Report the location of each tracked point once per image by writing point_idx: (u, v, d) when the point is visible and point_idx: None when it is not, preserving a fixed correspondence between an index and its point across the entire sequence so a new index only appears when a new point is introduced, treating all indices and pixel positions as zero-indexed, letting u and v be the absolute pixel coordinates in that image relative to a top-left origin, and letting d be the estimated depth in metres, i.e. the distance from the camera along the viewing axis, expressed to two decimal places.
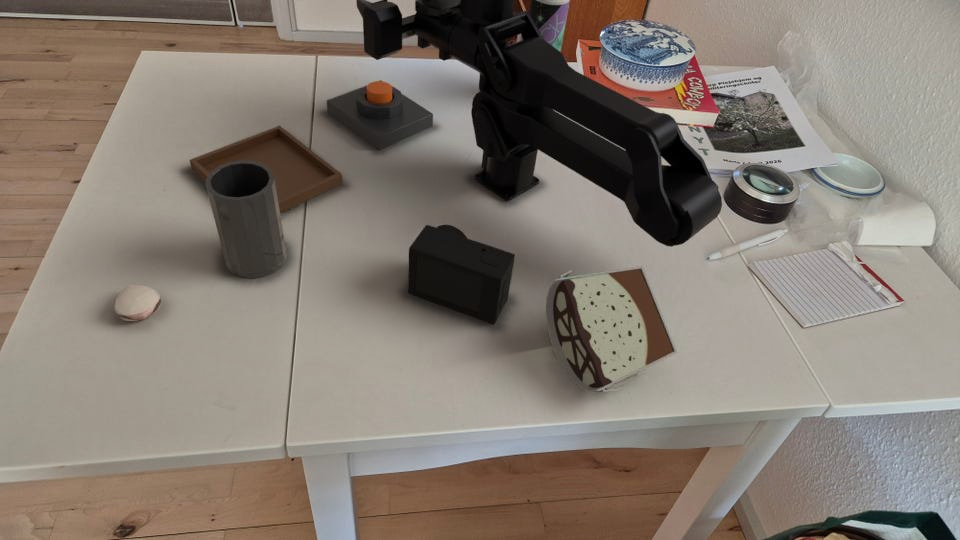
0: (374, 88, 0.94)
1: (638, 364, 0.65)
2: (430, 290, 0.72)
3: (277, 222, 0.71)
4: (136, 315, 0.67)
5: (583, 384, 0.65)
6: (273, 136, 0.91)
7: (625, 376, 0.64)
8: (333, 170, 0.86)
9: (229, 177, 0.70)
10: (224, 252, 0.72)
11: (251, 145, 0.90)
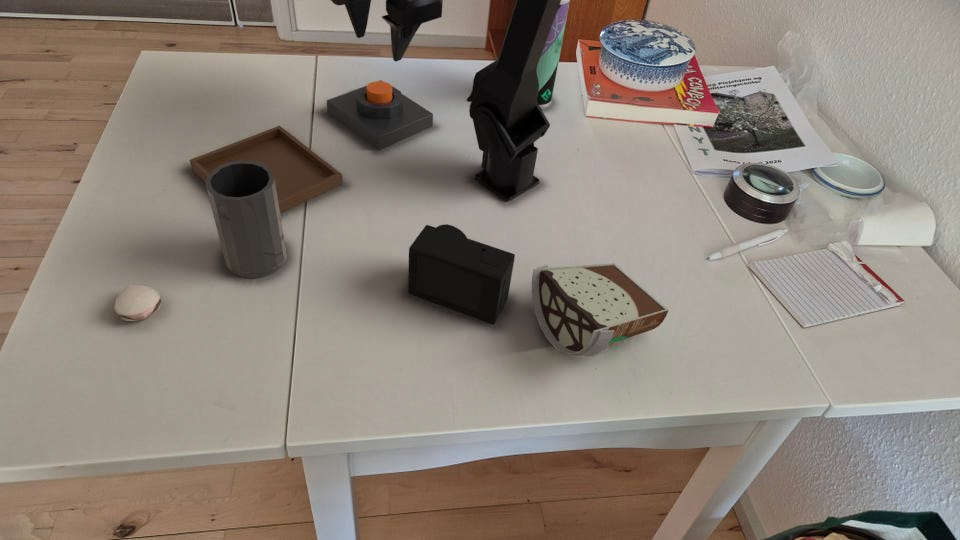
0: (374, 88, 0.94)
1: (631, 317, 0.65)
2: (430, 290, 0.72)
3: (277, 222, 0.71)
4: (136, 315, 0.67)
5: None
6: (273, 136, 0.91)
7: (620, 323, 0.64)
8: (333, 170, 0.86)
9: (229, 177, 0.70)
10: (224, 252, 0.72)
11: (251, 145, 0.90)
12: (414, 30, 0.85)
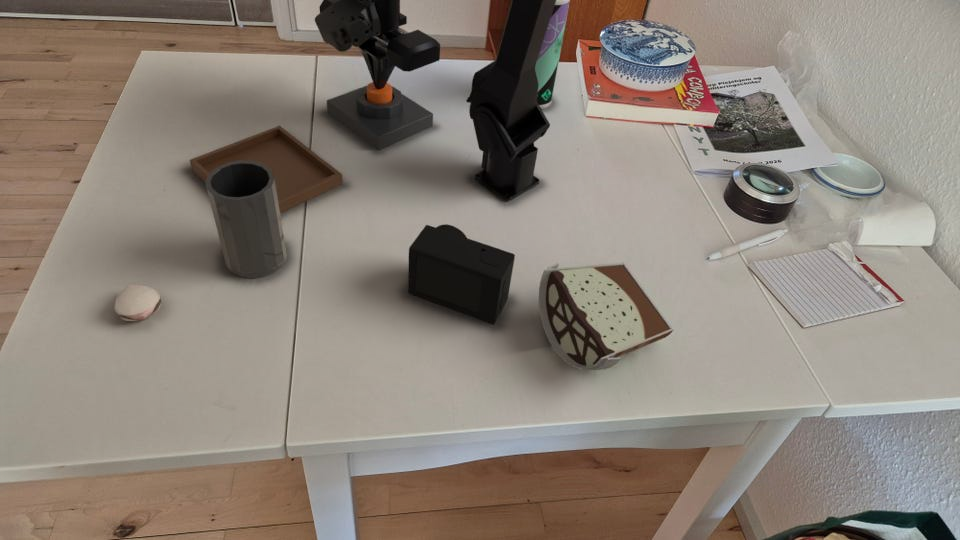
0: (374, 88, 0.94)
1: (637, 338, 0.65)
2: (430, 290, 0.72)
3: (277, 222, 0.71)
4: (136, 315, 0.67)
5: (587, 366, 0.65)
6: (273, 136, 0.91)
7: (627, 347, 0.64)
8: (333, 170, 0.86)
9: (229, 177, 0.70)
10: (224, 252, 0.72)
11: (251, 145, 0.90)
12: None
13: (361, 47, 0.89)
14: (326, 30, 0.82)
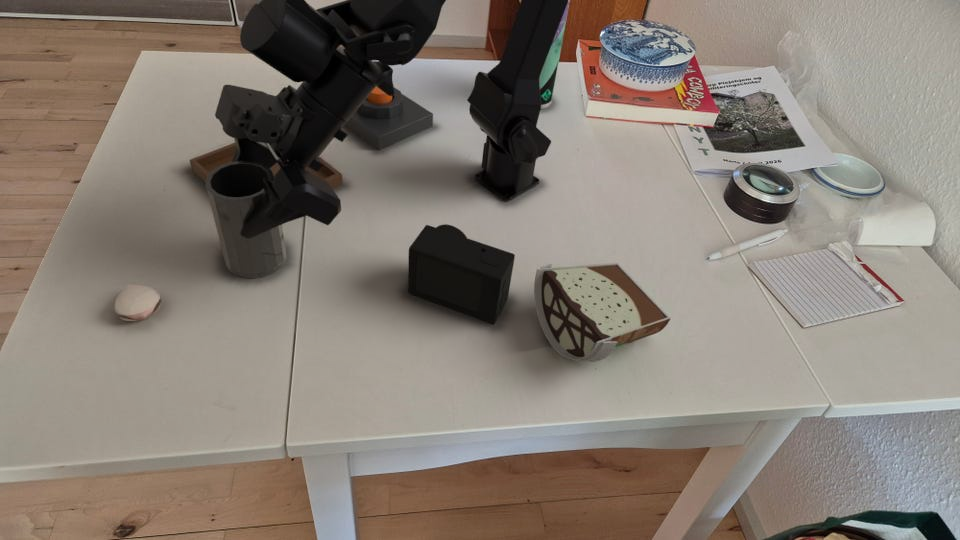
0: (374, 88, 0.94)
1: (634, 325, 0.65)
2: (430, 290, 0.72)
3: None
4: (136, 315, 0.67)
5: (585, 356, 0.64)
6: None
7: (623, 333, 0.64)
8: (333, 170, 0.86)
9: (229, 177, 0.70)
10: (224, 252, 0.72)
11: None
12: (286, 219, 0.68)
13: (239, 140, 0.70)
14: (229, 101, 0.61)
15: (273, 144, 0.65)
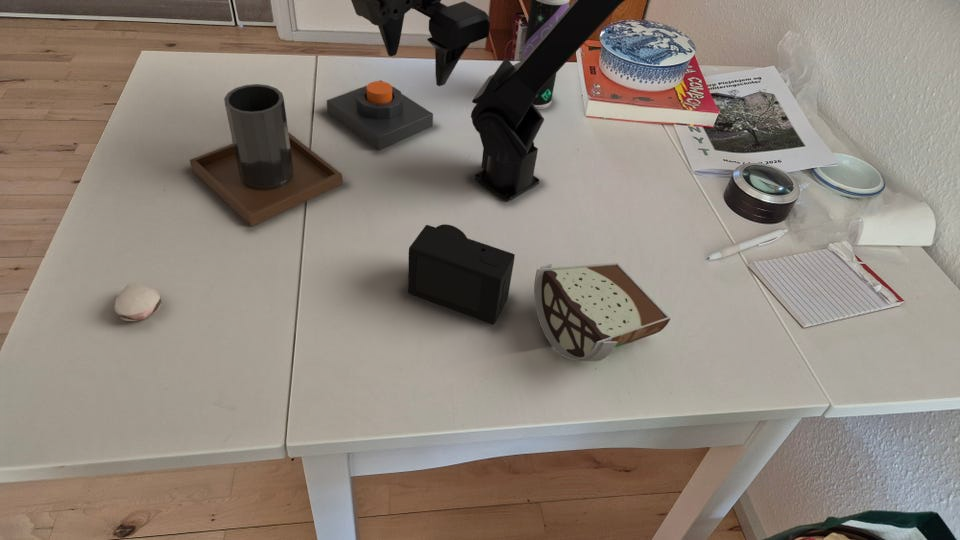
0: (374, 88, 0.94)
1: (634, 325, 0.65)
2: (430, 290, 0.72)
3: (278, 145, 0.80)
4: (136, 315, 0.67)
5: (585, 356, 0.64)
6: None
7: (623, 333, 0.64)
8: (333, 170, 0.86)
9: (254, 97, 0.81)
10: None
11: None
12: (460, 52, 0.78)
13: None
14: (361, 0, 0.71)
15: None
